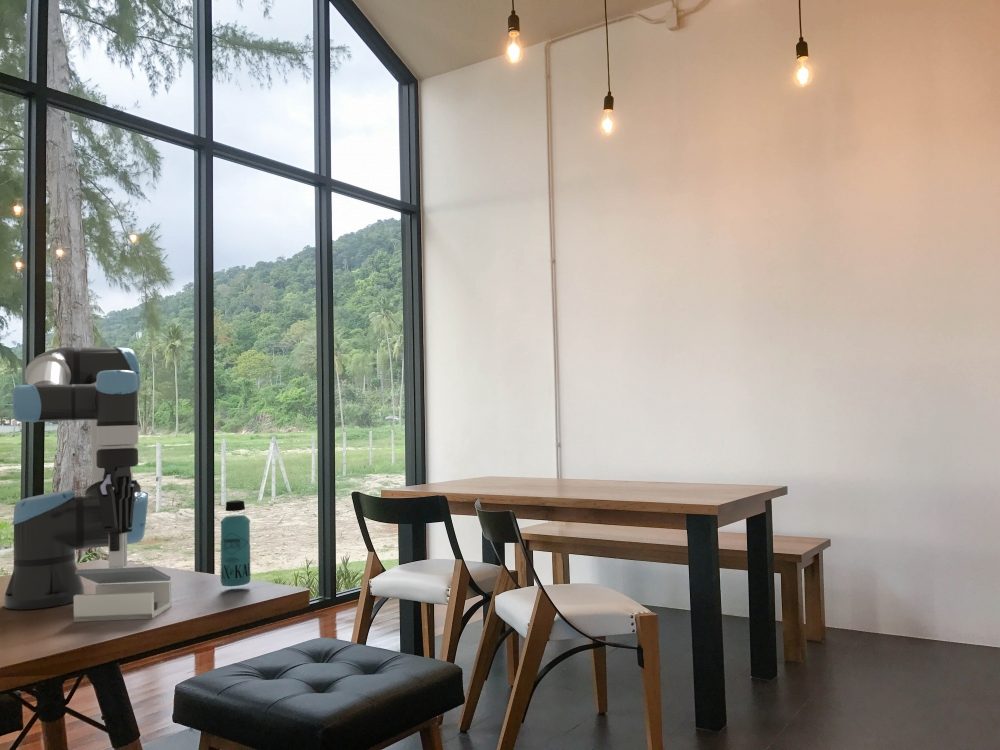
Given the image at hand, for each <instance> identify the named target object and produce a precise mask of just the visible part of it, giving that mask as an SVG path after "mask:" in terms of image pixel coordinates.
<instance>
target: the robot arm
mask: <svg viewBox="0 0 1000 750" xmlns="http://www.w3.org/2000/svg"><path fill="white" fill-rule="evenodd" d="M24 380H25V382H26V383H25V384H22V385H16V386H14V388H13V391H12V415H13V419H14V420H15V421H17V422H23V423H25V422H27V423H38V422H41V423H42V422H62V421H63V422H65V421H90V440H91V441H90V445H91V448H90V449H91V452H90V453H91V477H92V481H91V482H92V483H91V484H89V485H87V487H86V489H85V491H84V495H83V496H82V495H81V496H76V493H75V491H74V490H63V491H55V492H50V493H44V494H39V495H35V496H30V497H26V498H23V499H20V500H19V501H17V503H16V504H15V505H14V507H13V521H12V522H11V523H12V525H13V571H12V573H11V576H10V579H9V581H8V585H7V588H6V590H5V594H4V597H3V599H4V600H3V601H4V602H3V605H4V608H5V609H9V610H34V609H37V610H38V609H45V608H51V607H52V608H53V607H56V606H63V605H67V604H71V603H74V596H75V595H84V594H85V586H84V583H83V580H82V577H81V576H79V575H77V574H75V571H76V570H79V569H78V566H77V564H76V550H85V549H94V548H105V547H108V568H126V567H127V566H128V545H131V544H137V543H140V542H141V541H142V540H143V539H144V537H145V531H146V525H147V523H146V522H147V513H148V502H149V501H148V500H149V493H148V492H147V491H142V490H141V489H142V487H141V484H140V483H139V482H138V481H137V480H136V479H134V476H133V475H134V474H133V471H134V470H133V467H137V466H138V464H139V449H138V448H136V446H137V445H138V444H139V424H138V409H139V408H138V406H139V403H138V401H139V399H138V397H139V396H138V395H139V393H138V392H139V391H140V389H141V375H140V368H139V361H138V357H137V355H136V353H135V351H134V350H133V349H131V348H129V347H118V346H113V347H92V346H90V347H87V346H86V347H85V346H84V347H83V346H80V347H79V346H75V347H74V346H65V347H59V348H54V349H51V350H47V351H45V352H43V353H41V354H38V355H37V356H35V357H34V358H33V359H32V360H30V361H29V363H28V364H27V365H26V368H25V372H24Z"/></svg>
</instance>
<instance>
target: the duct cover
mask: <svg viewBox="0 0 1000 750" xmlns="http://www.w3.org/2000/svg"><path fill="white" fill-rule="evenodd" d="M75 574H77V575H79V576H80V577H81V578H83V579H87V580H89V581H91V582H94V583H97V585H102V584H127V583H153V582H171V576H170V575H167V574H166V573H164V572H162V571H160V570H159V569H156V568H154V567H152V566H140V567H135V566H134V567H123V568H109V567H108V568H89V569H87V568H86V569H83V568H82V569H81V568H80V569H78V570H76V571H75Z"/></svg>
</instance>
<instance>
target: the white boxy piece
mask: <svg viewBox="0 0 1000 750" xmlns="http://www.w3.org/2000/svg"><path fill="white" fill-rule="evenodd" d="M171 607H172V581H154V582H128V583H102V584H96V585H95V593H92V594H91V593H90V594H89V593H87V594H85V593H84V595H75V596H74V602H73V622H74V623H77V622H78V623H80V622H81V623H82V622H105V621H106V622H107V621H129V620H132V621H133V620H152V619H154V618H156V617H157V616H159V615H160V614H162V613H163V612H165V611H166V610H168V609H169V608H171Z"/></svg>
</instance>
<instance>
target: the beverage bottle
mask: <svg viewBox="0 0 1000 750" xmlns="http://www.w3.org/2000/svg"><path fill="white" fill-rule="evenodd" d="M245 508H246V507H245V501H244V500H238V499H237V500H235V499H234V500H230V501H229V500H228V501H226V503H225V512H238V511H245V510H246V509H245ZM250 522H251V520H250V518H249V517H248V516H247V515H245V514H233V515H226V516H225V517H223V518H222V519H221V521H220V542H219V543H220V551H219V552H220V559H219V562H220V565H219V566H220V567H219V568H220V570H219V571H220V572H219V573H220V575H219V576H220V580H219V581H220V584H221V585H222V586H223V587H238V586H240V587H241V586H245V585H248V584H249V583H250V582H251V578H252V572H251V571H252V570H251V564H252V561H251V544H250V543H251V541H250V540H251V536H250V534H251V533H250V532H251V531H250V527H251V526H250Z"/></svg>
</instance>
